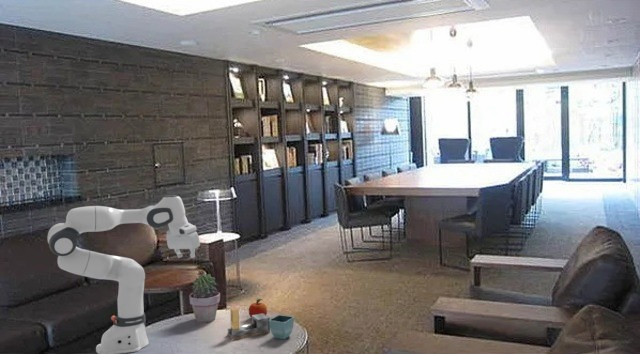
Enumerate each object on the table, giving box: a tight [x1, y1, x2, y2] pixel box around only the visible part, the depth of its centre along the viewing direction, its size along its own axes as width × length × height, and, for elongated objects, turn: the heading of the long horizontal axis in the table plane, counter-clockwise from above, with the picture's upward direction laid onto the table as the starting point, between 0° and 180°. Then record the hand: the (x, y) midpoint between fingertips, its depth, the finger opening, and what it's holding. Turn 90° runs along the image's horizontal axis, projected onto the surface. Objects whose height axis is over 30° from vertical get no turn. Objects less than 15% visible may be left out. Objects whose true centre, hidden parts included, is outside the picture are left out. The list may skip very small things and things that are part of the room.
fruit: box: [248, 298, 268, 319], centre depth 286 cm, size 10×10×10 cm
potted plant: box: [188, 269, 222, 323], centre depth 286 cm, size 18×20×25 cm
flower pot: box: [269, 314, 295, 340], centre depth 259 cm, size 9×9×9 cm
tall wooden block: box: [230, 307, 253, 332], centre depth 263 cm, size 10×3×12 cm, turn 119°
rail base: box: [227, 313, 271, 341], centre depth 265 cm, size 18×8×7 cm, turn 119°
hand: (186, 257), depth 258 cm, fingers open, 8 cm apart
